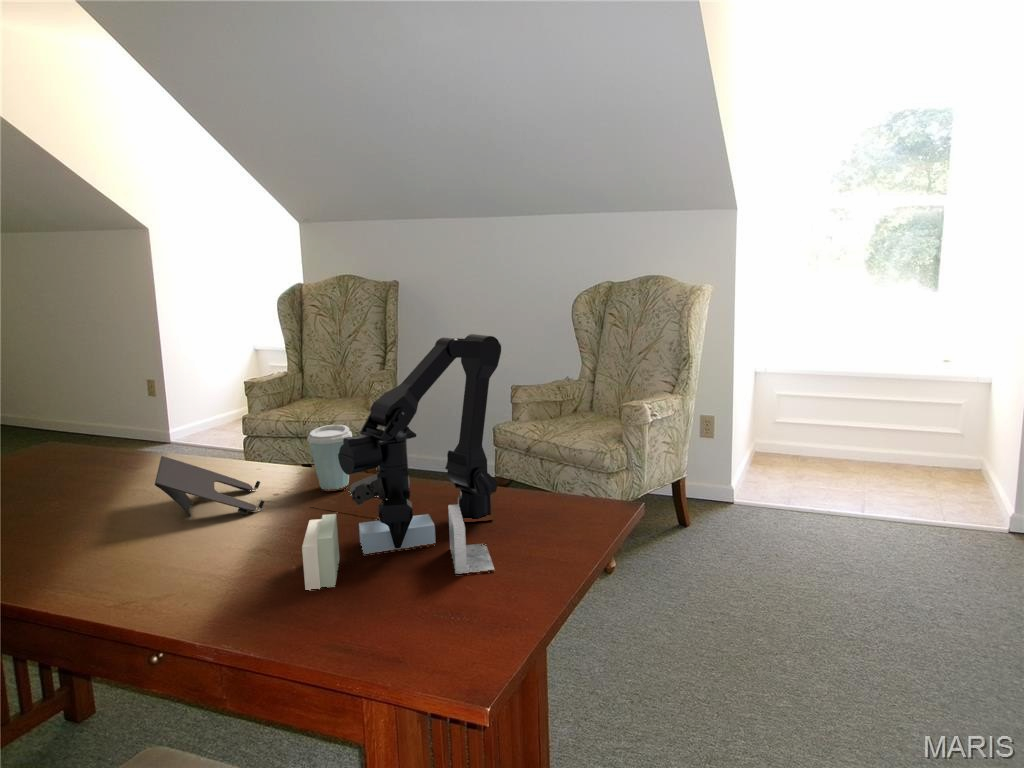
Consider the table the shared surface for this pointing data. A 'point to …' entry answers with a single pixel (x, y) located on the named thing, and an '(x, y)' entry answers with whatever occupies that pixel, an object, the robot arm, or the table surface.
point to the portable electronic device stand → (199, 485)
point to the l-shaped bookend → (465, 546)
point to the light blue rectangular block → (380, 539)
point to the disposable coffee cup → (329, 455)
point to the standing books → (321, 553)
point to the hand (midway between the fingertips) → (397, 538)
